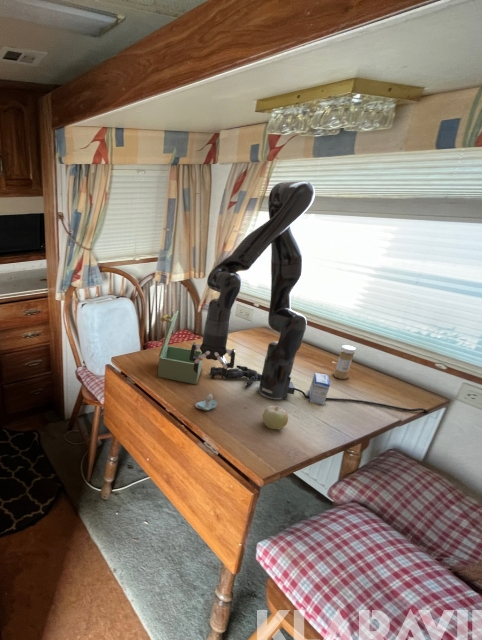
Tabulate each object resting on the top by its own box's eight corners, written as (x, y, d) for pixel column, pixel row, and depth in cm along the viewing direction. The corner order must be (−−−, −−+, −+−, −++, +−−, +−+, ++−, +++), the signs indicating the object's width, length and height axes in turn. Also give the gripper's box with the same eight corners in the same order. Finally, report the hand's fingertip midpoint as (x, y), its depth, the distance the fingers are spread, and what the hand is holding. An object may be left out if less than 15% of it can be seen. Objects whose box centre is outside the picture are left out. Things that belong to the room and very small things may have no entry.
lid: (178, 311, 149) (167, 307, 151) (172, 321, 138) (159, 317, 139) (167, 344, 157) (156, 340, 158) (160, 357, 145) (148, 352, 147)
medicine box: (308, 391, 137) (314, 372, 134) (322, 394, 135) (328, 374, 132) (309, 402, 131) (315, 381, 127) (324, 405, 129) (330, 384, 125)
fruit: (288, 435, 114) (293, 414, 111) (262, 431, 116) (267, 410, 112) (282, 421, 120) (287, 401, 117) (258, 417, 122) (263, 397, 119)
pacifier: (191, 406, 129) (203, 414, 124) (192, 391, 127) (205, 399, 122) (205, 400, 132) (218, 408, 127) (207, 386, 130) (220, 393, 125)
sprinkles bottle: (345, 375, 149) (355, 346, 143) (347, 380, 145) (356, 350, 140) (332, 373, 151) (341, 344, 145) (333, 377, 147) (342, 348, 142)
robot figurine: (213, 388, 141) (268, 392, 137) (214, 378, 140) (270, 381, 136) (208, 367, 157) (257, 370, 153) (209, 358, 156) (258, 361, 152)
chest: (201, 369, 154) (203, 351, 151) (196, 384, 143) (198, 365, 139) (165, 363, 160) (166, 345, 157) (157, 376, 149) (159, 357, 146)
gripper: (192, 331, 116) (186, 375, 123) (239, 338, 111) (230, 383, 117) (195, 323, 123) (189, 365, 129) (240, 330, 117) (232, 373, 123)
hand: (209, 374), depth 123 cm, fingers open, 8 cm apart
